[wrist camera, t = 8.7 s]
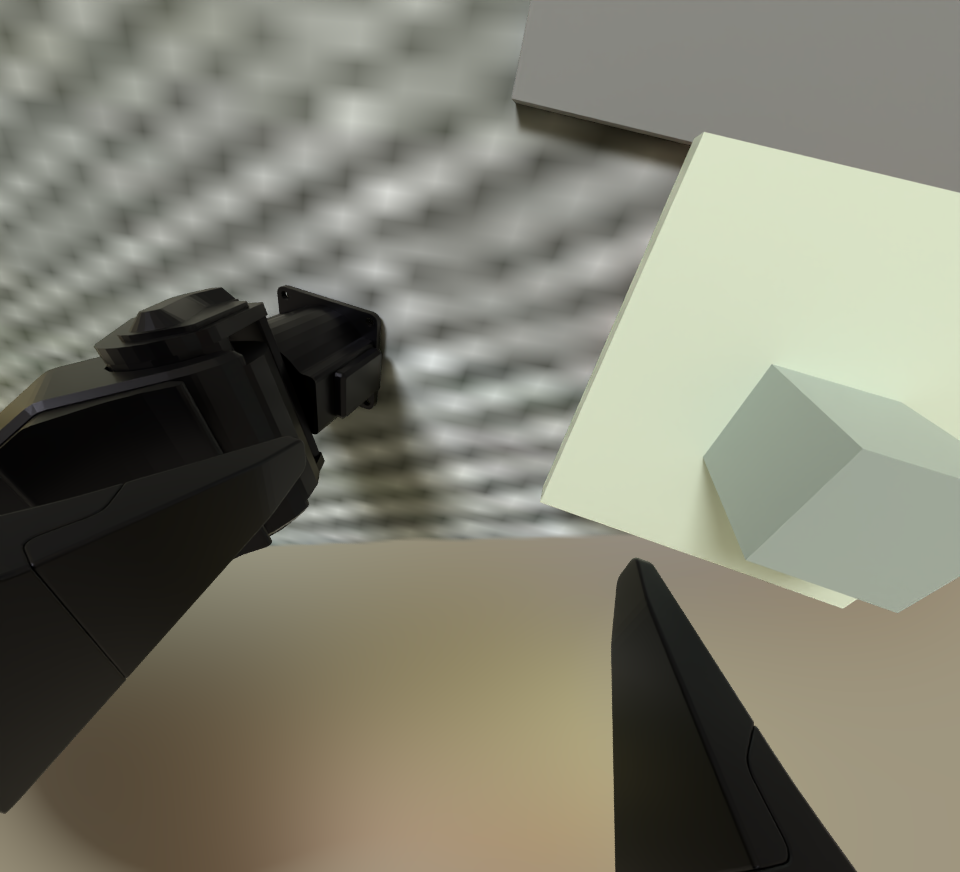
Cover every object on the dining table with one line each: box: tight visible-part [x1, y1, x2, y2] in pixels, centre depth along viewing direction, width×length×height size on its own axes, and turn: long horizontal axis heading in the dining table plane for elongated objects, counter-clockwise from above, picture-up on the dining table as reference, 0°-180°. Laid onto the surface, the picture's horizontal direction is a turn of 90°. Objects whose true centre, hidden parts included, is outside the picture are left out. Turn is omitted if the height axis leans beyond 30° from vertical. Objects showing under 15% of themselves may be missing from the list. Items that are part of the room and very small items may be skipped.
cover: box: [540, 132, 960, 613], centre depth 11 cm, size 14×14×6 cm
